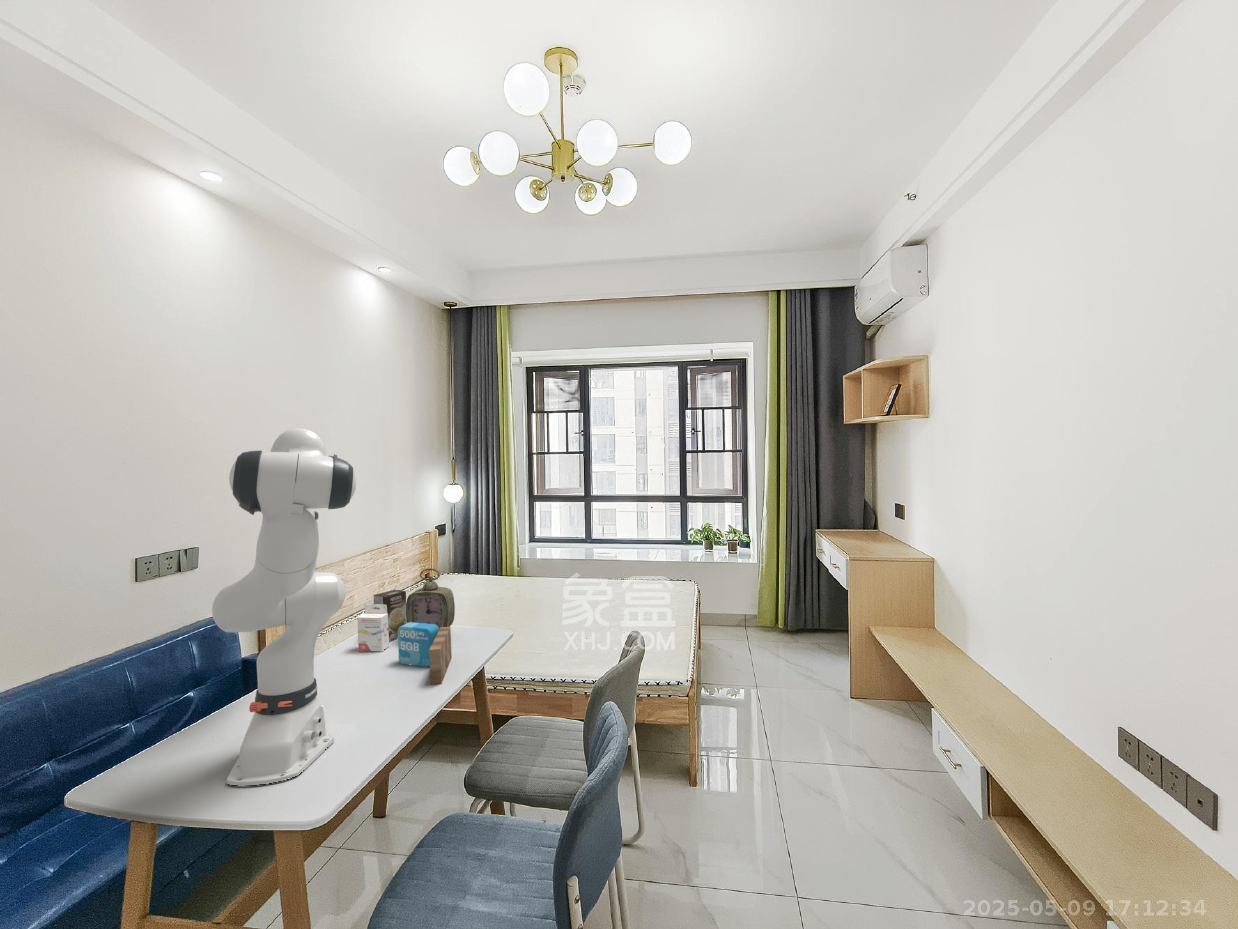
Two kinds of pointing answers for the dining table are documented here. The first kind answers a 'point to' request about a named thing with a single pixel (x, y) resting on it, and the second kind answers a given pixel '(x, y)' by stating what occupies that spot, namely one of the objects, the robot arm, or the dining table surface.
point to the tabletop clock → (431, 604)
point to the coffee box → (393, 609)
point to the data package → (416, 643)
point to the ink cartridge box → (373, 628)
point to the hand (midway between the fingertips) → (298, 567)
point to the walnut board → (440, 655)
